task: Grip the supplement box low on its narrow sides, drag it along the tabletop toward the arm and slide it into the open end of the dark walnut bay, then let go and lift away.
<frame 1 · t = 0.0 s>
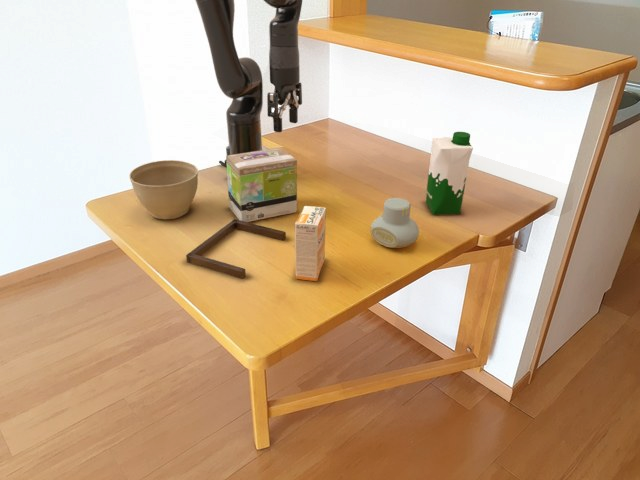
hand: (285, 127, 136), 17 cm above the table, tool pointing down, fingers open, 8 cm apart
supplement box: (310, 270, 108), on the table
air freshener: (393, 242, 119), on the table
tea box: (263, 211, 131), on the table
planter bowl: (170, 212, 131), on the table
bay: (240, 250, 114), on the table
milk carton: (442, 209, 134), on the table
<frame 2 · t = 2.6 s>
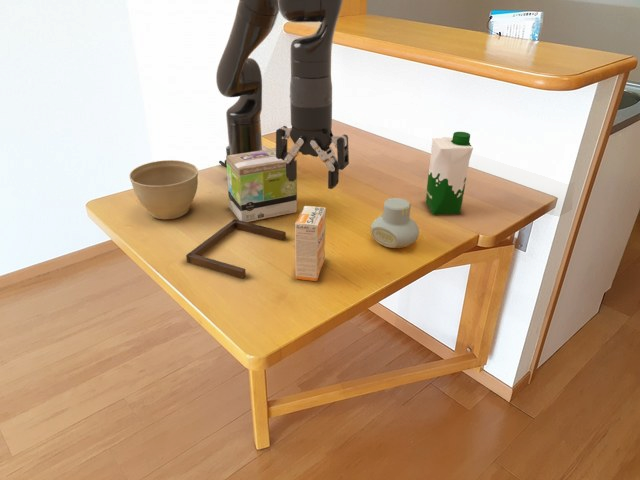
hand: (311, 183, 100), 19 cm above the table, tool pointing down, fingers open, 8 cm apart
nothing on the table moved.
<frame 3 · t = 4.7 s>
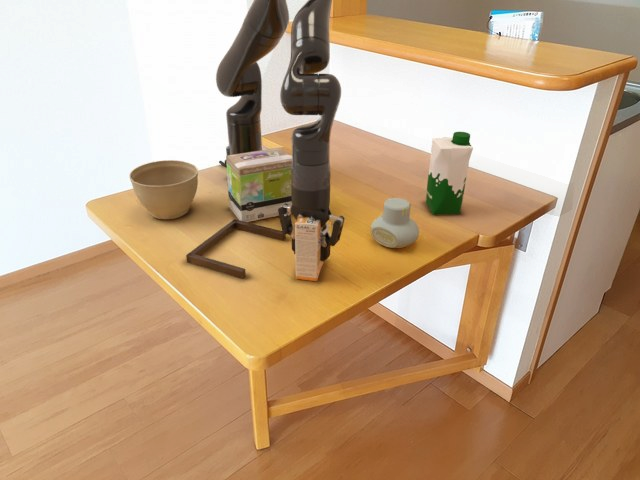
hand: (310, 255, 106), 4 cm above the table, tool pointing down, fingers closed on supplement box, 5 cm apart
supplement box: (310, 270, 108), on the table, touching gripper
everything else where it was.
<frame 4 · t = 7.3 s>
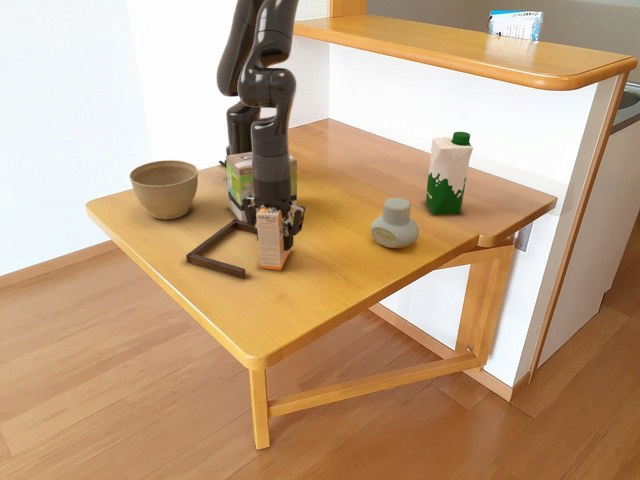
hand: (275, 245, 109), 4 cm above the table, tool pointing down, fingers closed on supplement box, 5 cm apart
supplement box: (276, 260, 111), on the table, touching gripper
everything else where it was.
when the fingers open (4 cm above the table, at t = 9.7 s): supplement box stays where it is, on the table.
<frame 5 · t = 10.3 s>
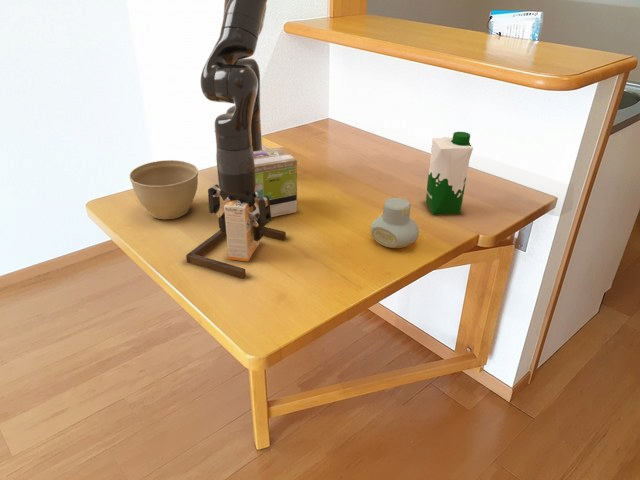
hand: (241, 235, 112), 4 cm above the table, tool pointing down, fingers open, 8 cm apart
supplement box: (245, 252, 114), on the table
everything else where it was.
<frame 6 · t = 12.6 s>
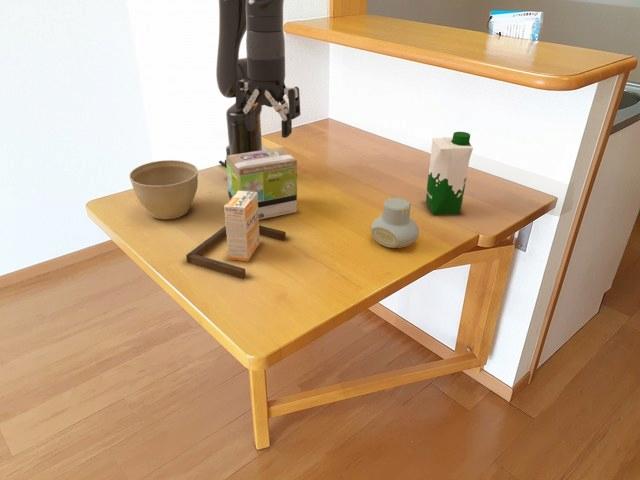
hand: (268, 133, 109), 24 cm above the table, tool pointing down, fingers open, 8 cm apart
nothing on the table moved.
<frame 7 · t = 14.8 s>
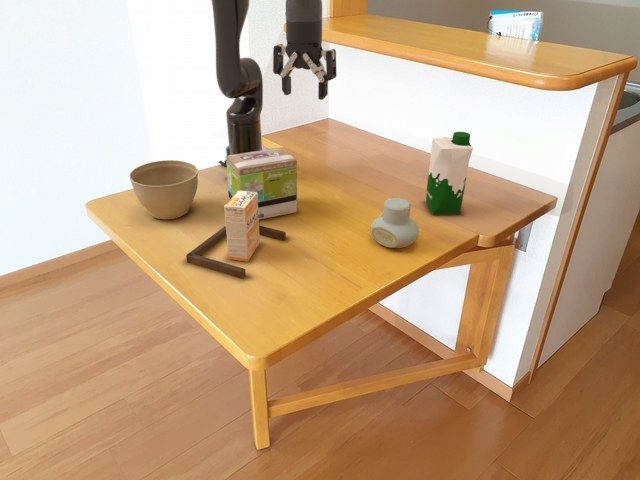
hand: (304, 96, 114), 30 cm above the table, tool pointing down, fingers open, 8 cm apart
nothing on the table moved.
at the end: supplement box inside the target area on the bay (1.1 cm from its centre), point 0.0 cm above the bay's base; supplement box tilted 0°; the gripper is holding nothing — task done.
